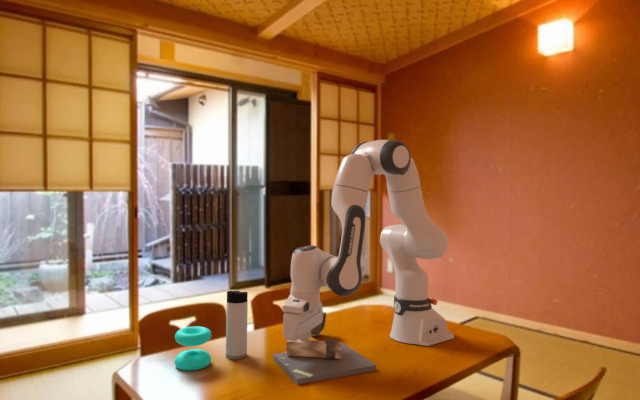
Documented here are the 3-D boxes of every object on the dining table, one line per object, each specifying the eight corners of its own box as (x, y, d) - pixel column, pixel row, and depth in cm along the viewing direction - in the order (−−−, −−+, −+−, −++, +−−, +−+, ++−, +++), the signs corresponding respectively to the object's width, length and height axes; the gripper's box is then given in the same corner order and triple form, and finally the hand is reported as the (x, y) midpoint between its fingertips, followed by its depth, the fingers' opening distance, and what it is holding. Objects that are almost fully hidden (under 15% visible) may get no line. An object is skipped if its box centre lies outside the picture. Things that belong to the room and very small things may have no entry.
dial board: (344, 348, 142) (344, 343, 142) (376, 370, 125) (376, 364, 125) (273, 359, 132) (273, 353, 132) (297, 385, 115) (297, 378, 114)
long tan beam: (341, 354, 131) (342, 339, 131) (340, 359, 127) (341, 343, 127) (288, 351, 133) (288, 336, 133) (286, 355, 129) (286, 340, 129)
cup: (323, 340, 149) (324, 316, 149) (302, 338, 151) (302, 315, 151) (327, 333, 157) (328, 310, 157) (307, 331, 158) (307, 309, 158)
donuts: (194, 338, 119) (167, 332, 124) (193, 375, 120) (166, 367, 124) (218, 328, 128) (192, 323, 133) (218, 362, 129) (192, 356, 133)
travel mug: (221, 358, 132) (222, 291, 131) (232, 350, 138) (233, 286, 138) (239, 361, 130) (240, 293, 129) (250, 353, 136) (251, 288, 135)
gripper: (310, 291, 144) (309, 334, 144) (279, 306, 125) (278, 355, 125) (328, 294, 141) (327, 337, 141) (299, 309, 122) (298, 359, 123)
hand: (304, 345), depth 133 cm, fingers closed
